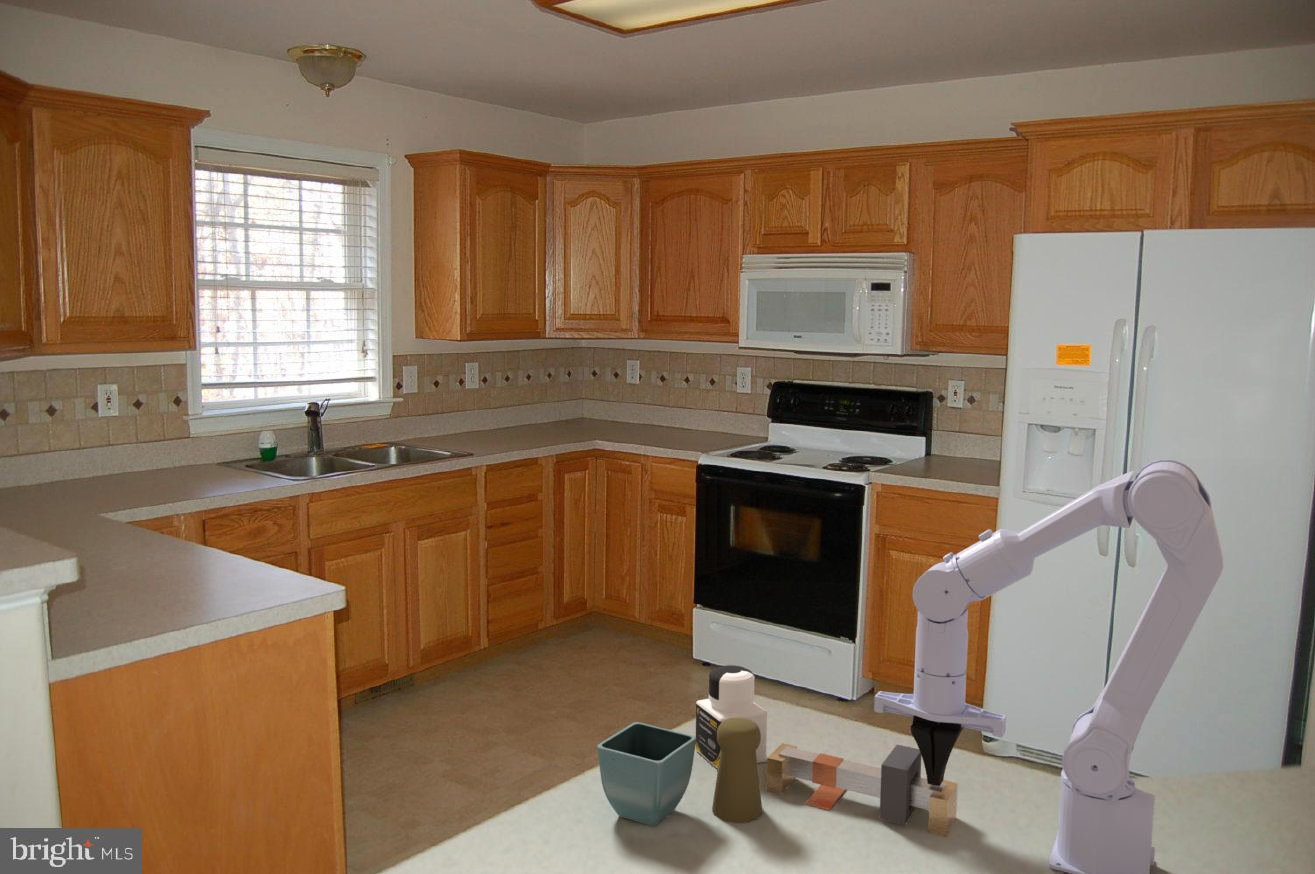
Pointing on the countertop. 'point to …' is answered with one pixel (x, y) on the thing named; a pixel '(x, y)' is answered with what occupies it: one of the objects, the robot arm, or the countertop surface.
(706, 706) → the medicine bottle
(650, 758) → the flower pot
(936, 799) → the rail
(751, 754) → the brown pawn figure
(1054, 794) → the countertop surface
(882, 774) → the collar
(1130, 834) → the robot arm
